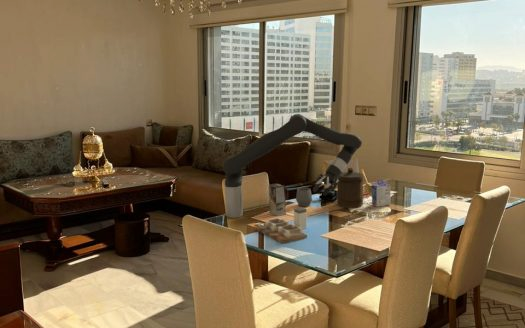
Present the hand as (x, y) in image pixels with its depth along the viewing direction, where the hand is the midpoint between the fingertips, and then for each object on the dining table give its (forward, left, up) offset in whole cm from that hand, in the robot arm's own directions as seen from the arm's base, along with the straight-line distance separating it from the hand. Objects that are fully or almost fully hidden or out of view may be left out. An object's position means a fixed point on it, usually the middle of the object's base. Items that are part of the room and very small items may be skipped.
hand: (318, 193), depth 247 cm
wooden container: (-18, +36, -17) cm, 44 cm away
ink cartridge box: (-7, +50, -17) cm, 53 cm away
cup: (-32, +13, -17) cm, 38 cm away
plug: (0, -12, -16) cm, 20 cm away
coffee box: (-28, -8, -17) cm, 33 cm away
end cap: (-33, +32, -17) cm, 49 cm away
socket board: (+2, -25, -16) cm, 30 cm away
